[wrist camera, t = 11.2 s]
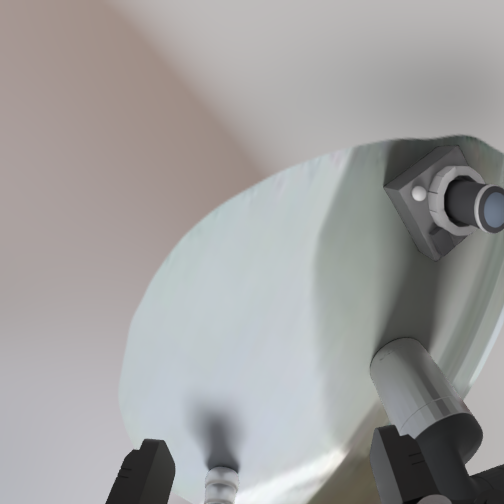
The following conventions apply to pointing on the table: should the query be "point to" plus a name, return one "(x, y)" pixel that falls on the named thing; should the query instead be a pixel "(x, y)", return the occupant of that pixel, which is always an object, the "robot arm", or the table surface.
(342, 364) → the table surface
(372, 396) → the table surface
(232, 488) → the plastic bottle
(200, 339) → the table surface
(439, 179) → the camera body
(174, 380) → the table surface
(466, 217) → the lens
